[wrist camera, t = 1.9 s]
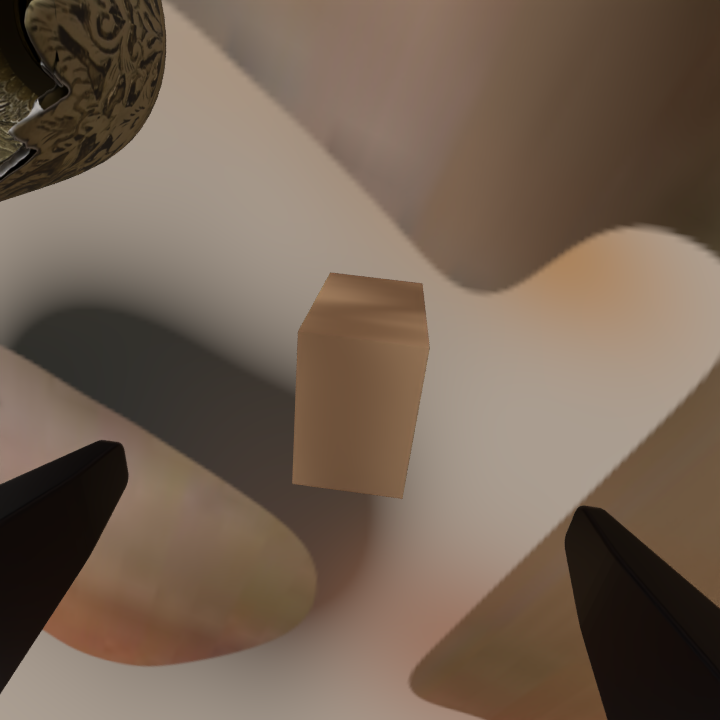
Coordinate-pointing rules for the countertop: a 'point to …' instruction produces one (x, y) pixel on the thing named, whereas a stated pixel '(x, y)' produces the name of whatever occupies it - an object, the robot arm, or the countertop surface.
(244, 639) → the countertop surface
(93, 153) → the cup
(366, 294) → the brown rectangular block
